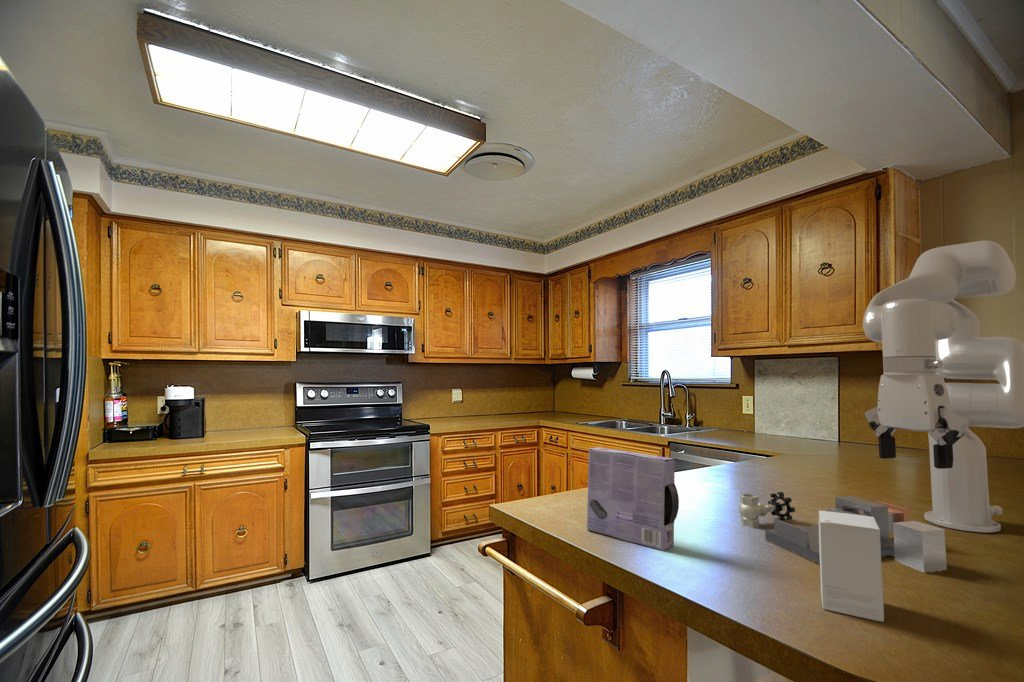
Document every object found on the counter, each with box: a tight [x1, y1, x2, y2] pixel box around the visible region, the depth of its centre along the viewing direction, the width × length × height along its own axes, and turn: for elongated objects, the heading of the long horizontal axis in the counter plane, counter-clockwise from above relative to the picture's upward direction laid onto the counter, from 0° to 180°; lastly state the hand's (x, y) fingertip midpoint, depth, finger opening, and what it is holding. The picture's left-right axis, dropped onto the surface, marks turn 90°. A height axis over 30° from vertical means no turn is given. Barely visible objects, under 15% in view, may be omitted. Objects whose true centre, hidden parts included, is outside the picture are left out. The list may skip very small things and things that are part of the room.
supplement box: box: [818, 510, 885, 623], centre depth 72 cm, size 7×7×13 cm
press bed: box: [764, 495, 895, 563], centre depth 95 cm, size 20×13×8 cm, turn 103°
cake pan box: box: [586, 446, 680, 552], centre depth 101 cm, size 19×5×18 cm, turn 47°
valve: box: [739, 491, 796, 528], centre depth 110 cm, size 7×7×12 cm
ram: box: [827, 500, 910, 534], centre depth 97 cm, size 14×6×5 cm, turn 103°
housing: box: [893, 520, 948, 574], centre depth 86 cm, size 6×5×7 cm
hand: (914, 462), depth 87 cm, fingers open, 9 cm apart
